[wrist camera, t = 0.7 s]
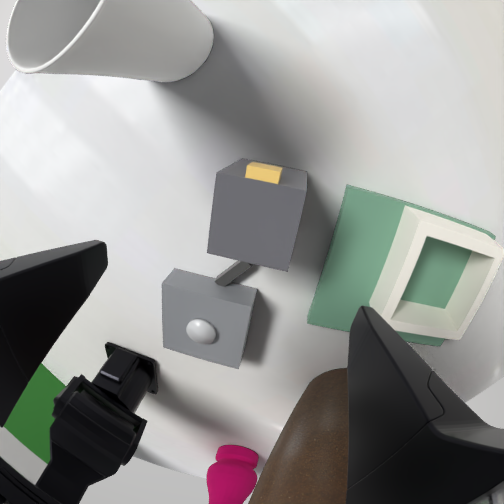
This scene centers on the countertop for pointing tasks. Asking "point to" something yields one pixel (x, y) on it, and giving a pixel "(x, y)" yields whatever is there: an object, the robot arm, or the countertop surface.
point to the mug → (109, 38)
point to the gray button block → (207, 314)
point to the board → (404, 268)
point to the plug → (257, 213)
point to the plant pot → (311, 448)
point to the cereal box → (31, 426)
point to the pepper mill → (232, 475)
